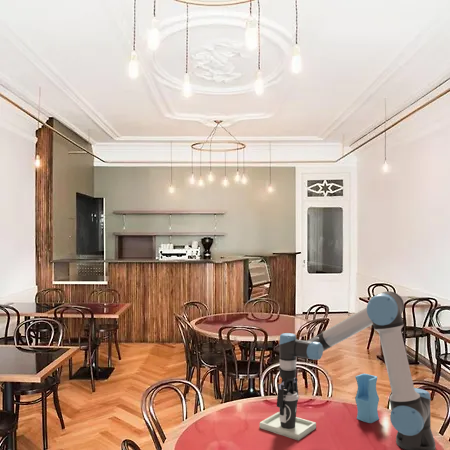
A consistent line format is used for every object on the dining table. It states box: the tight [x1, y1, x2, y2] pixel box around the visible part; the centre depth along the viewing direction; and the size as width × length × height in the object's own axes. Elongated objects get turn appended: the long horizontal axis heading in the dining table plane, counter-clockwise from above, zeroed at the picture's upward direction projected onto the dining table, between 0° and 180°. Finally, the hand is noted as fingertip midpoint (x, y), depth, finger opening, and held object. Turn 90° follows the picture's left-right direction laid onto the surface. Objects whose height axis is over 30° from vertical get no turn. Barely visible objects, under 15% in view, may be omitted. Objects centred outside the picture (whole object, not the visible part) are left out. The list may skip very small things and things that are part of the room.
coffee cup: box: [278, 391, 300, 429], centre depth 204 cm, size 10×10×15 cm
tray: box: [259, 411, 317, 441], centre depth 204 cm, size 20×16×2 cm
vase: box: [354, 373, 380, 424], centre depth 215 cm, size 8×8×20 cm
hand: (287, 418), depth 204 cm, fingers open, 8 cm apart
